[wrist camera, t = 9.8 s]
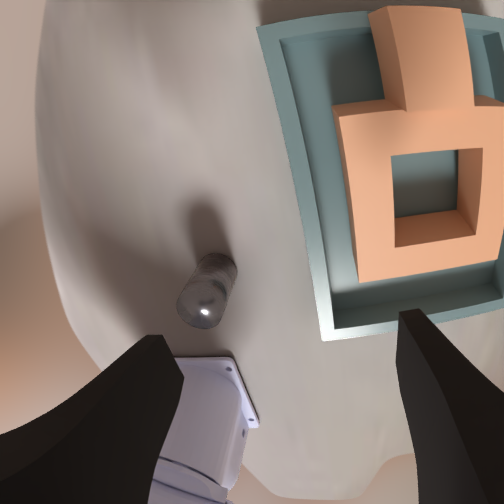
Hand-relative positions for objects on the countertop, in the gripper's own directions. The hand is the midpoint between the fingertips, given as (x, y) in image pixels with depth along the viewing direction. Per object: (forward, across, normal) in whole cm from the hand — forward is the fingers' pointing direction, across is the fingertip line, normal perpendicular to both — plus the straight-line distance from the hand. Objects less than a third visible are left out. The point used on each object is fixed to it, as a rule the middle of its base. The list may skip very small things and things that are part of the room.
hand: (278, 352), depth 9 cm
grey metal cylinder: (+9, +5, +2) cm, 11 cm away
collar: (+8, -7, -4) cm, 11 cm away
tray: (+9, -7, -2) cm, 12 cm away
